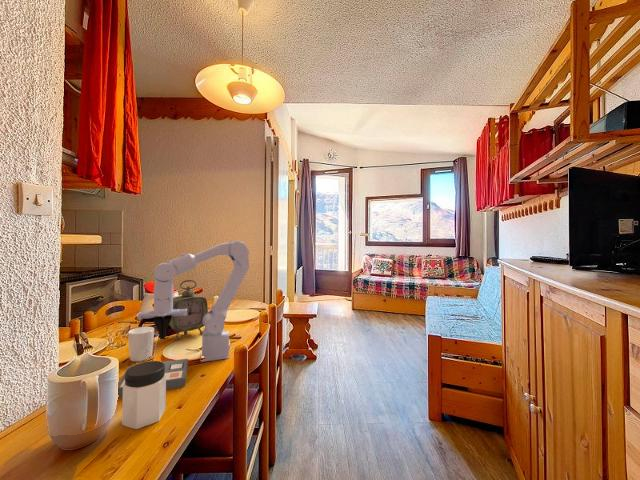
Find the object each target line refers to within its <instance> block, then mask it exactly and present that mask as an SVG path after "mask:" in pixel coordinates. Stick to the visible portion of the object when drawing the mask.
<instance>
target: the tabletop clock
mask: <svg viewBox="0 0 640 480" xmlns="http://www.w3.org/2000/svg"><path fill="white" fill-rule="evenodd" d="M186 282H192V283H194V286H192V287H190V286H189V285H187V286H186V287H182V285H183V284H184V283H186ZM196 287H197V282H196V281H195V280H193V279H185V280H183V281H182V282H181V283H180V284H179V288H181V290H184V291H183V292H182V293H181V295H178V296H175V297H174V296H173V309H187V316H173V317H172V319H171V321H170V323H169V325H168V326H169V327H170V328H171V329H172V330H174V331H175V332H176V334H175V336H174V337H173V340H174V341H177V340H179V333H182V332H183V335H188V332H190V331H195V330H198V331H199V335H201V336H202V332H203V331H204V330H202V329H201V328H203V327H205V326H204V325H203V317H204V316H205V314H207V313H208V312H209V311H208V307H209V306H208V301H207V299H206V297H203V296H202V295H199V294H196V293H195V292H194V290H193V289H195V288H196Z"/></svg>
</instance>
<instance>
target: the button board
mask: <svg viewBox="0 0 640 480" xmlns="http://www.w3.org/2000/svg"><path fill="white" fill-rule="evenodd" d="M188 360H189V359H188V358H181V359H175V360H166V361H162V362H163V363H164V364H165V373H166V390H172V389H177V388H182V387H185V386H186V381H187V380H186V379H187V374H188V373H187V372H188V367H189V366H188V365H189V363H188ZM182 363H183V365H182V368H179V369H173V370H170V369H171V365H175V364H182ZM132 366H133V365H130V366H128V367H127V368H126V370H125V372H126V371H127V370H128V369H129V368H130V367H132ZM125 372H124V374H123V375H122V377H121V378H120V380H119V382H118V383H119V386H118V395H119V398H123V385H124V384H125Z"/></svg>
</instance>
